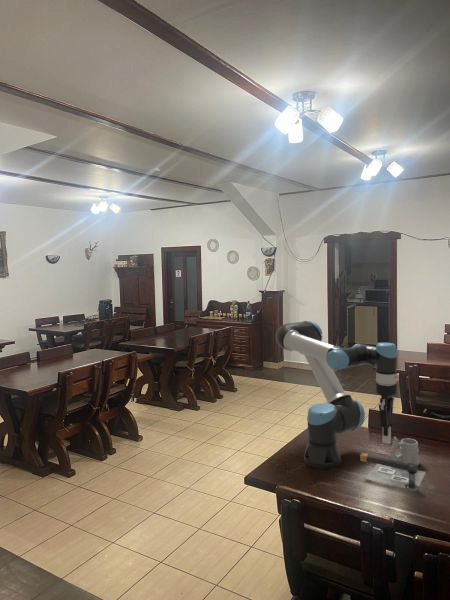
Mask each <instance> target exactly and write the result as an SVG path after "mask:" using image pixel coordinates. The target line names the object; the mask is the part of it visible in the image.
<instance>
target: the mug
mask: <svg viewBox="0 0 450 600" xmlns="http://www.w3.org/2000/svg"><path fill="white" fill-rule="evenodd" d="M398 446H399V450H400V454H398V455H397V454H396V450H397V448H398ZM419 452H420V450H419V443H418V441H417V440H416V439H414V438H408V437H407V438H402V439H401V440H400V441H399V440H398V438H397V437H396V436H393V442H392V445H391V447H390V451H389V454H390V460H393V461H398V462H402V463H407V464H408V463H414V464H416V465H417V467H418V466H419V465H420V464H421V463H420V458H419Z"/></svg>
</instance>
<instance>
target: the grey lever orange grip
mask: <svg viewBox="0 0 450 600" xmlns="http://www.w3.org/2000/svg"><path fill="white" fill-rule="evenodd" d="M359 458H360V462H365V463H367V462H368V463H373V464H376V465H377V464H381V465H385V466H389V467H394V468H398V469H403V470H407V472H409V473H417V470H418V466H417V465H416V464H414V463H408V464H407V463H402V462H400V461H399V460H398V461H393V460H392V459H388V458H383V457H379V456H374V455H371V454H369V453H365V452H362V453H361V454H360V455H359Z"/></svg>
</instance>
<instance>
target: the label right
mask: <svg viewBox="0 0 450 600" xmlns="http://www.w3.org/2000/svg"><path fill="white" fill-rule="evenodd" d="M390 480H392V481H396V482H400V483H404V484H407V483H408V482H409V478H405V477H400V476H396V475H393V476H392V477H391V479H390Z"/></svg>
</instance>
